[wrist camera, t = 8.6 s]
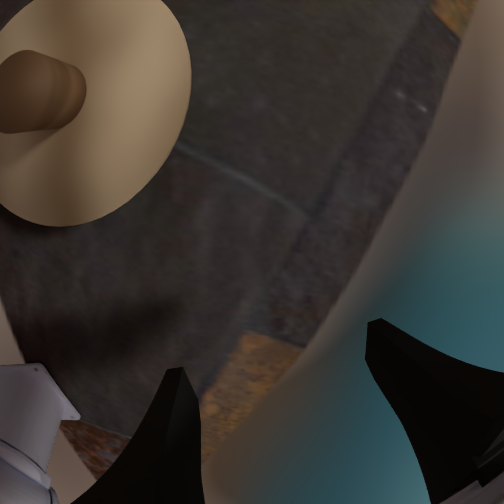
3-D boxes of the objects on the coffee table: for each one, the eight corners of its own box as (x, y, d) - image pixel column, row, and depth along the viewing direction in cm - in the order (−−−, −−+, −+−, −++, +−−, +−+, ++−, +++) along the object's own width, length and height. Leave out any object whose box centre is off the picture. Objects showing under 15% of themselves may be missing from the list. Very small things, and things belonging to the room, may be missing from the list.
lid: (7, 245, 13) (-37, 281, 9) (-30, 48, 8) (-77, 41, 4) (215, 186, 13) (219, 211, 10) (172, -44, 9) (164, -92, 5)
